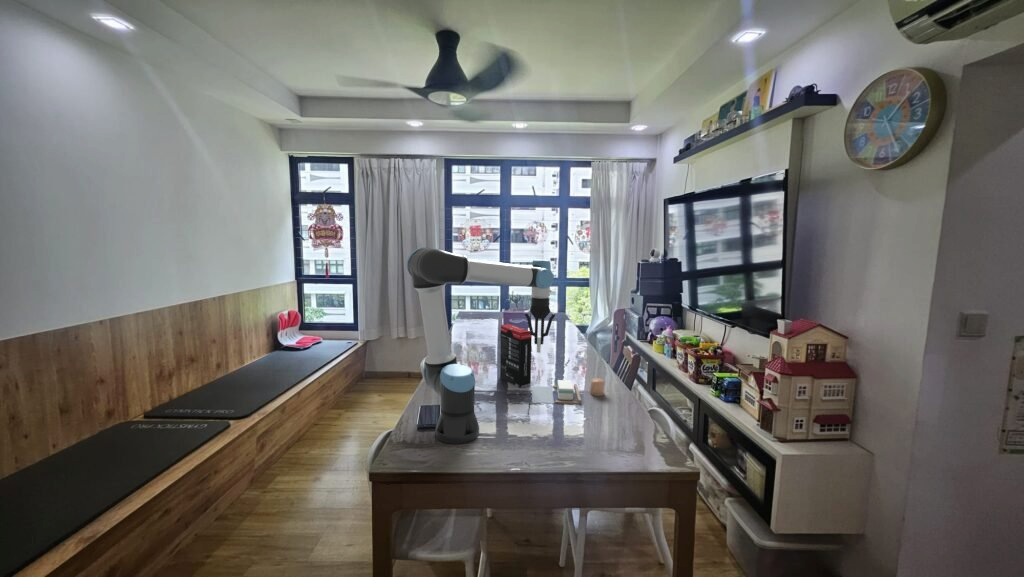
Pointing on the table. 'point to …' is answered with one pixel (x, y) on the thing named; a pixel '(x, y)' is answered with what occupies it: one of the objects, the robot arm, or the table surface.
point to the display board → (550, 395)
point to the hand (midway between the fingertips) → (538, 351)
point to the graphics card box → (515, 355)
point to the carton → (565, 389)
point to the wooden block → (597, 387)
